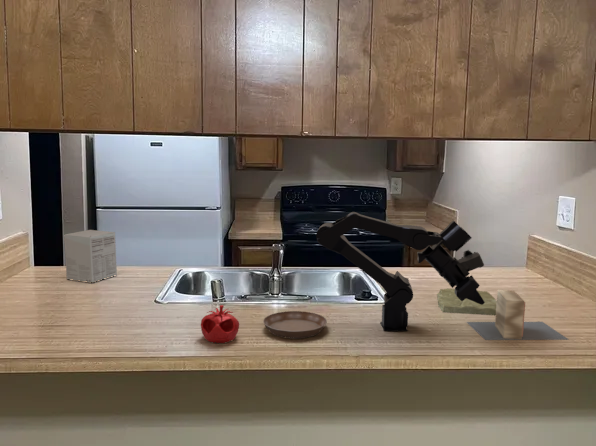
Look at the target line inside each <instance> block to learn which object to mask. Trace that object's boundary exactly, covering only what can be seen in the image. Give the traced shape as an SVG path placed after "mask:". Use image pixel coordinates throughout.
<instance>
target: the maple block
mask: <svg viewBox="0 0 596 446" xmlns="http://www.w3.org/2000/svg"><path fill="white" fill-rule="evenodd" d="M496 301H497V303H496V315H495V320H494V322H495V326H496V328H497V329H498V331H499V332H500V334H501V335H502V336H503V338H507V339H522V337H523V328H524V322H525V315H526V314H525V313H526V312H525V311H526V302H525V300H524V299H523V298H522V297H521V296H520V295H519V293H517V292H516V291H515V290H513V289H512V290H509V289H497V292H496Z"/></svg>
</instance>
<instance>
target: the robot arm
mask: <svg viewBox="0 0 596 446" xmlns="http://www.w3.org/2000/svg"><path fill="white" fill-rule="evenodd" d="M353 229H358V230H362V231H366V232H369V233H373V234H376V235H380V236H384V237H388V238H391V239H394V240H396V241H398V242H400V243H401V244H404V245H406V246H407V247H410V248H411V249H414V250H416V251H417V252H416V254H417V258H416V259H417V263H419V264H421V263H422V262H423V261H426V262H427V263H428V264H429V265H430V266H431V267H432V268H433V269H434V270H435V271H436V272H437V273H438V275H439V276H440V277H441V278H443V279H444V281H446V282H447V283H448V285H449V286H450V287H451V289H455V294H456V296H457V297H458V298H459V299H460V300H461V301H463V300H464V299H469V300H471V301H474V302H476V303H479V304H481V305H483V304H484V303H485V302H484V300H483V299H482V297H481V296H480V294H479V293H478V291H479V290H477V289H478V288H480V284H479V282H477V280H476V279H475V278H474V276H473V275H472V274H471V275H470V272H471V271H473V270H476V269H479V268H480V269H481V268H482V267H484V266H485V263H484V261H483V259H482V256H481V254H480V253H479V252H478V251H477V252H476V251H474V252H472V251H471V250H470V249H467V250H464V251H463V256H461V258H460V259H457V258H456V257H454V256H452V254H450V253H449V252H458V251H459V250H460V249H461V248H463V246H465V245H466V244H467V243H468V242H469V241H471V240H472V238H473V237H472V236H471V235H470V234H469V233H468V232H467V231H466V230H465V229H464V228H463V227H462V226H460V225H459V224H458V223H457V222H456V221H455V220H452V221H450V222H449V224H448V225H447V226H446V227H445V228H444V229H443V230H442V231H441V232H436V231H430V230H427V229H426V228H425V227H423V226H420V225H412V224H411V225H410V224H409V225H408V224H397V223H394V222H393V223H392V222H389V221H386V220H382V219H378V218H374V217H371V216H368V215H363V214H360V213H358V212H355V211H352V212H349V213H348V214H346V215H345V216H344V217H341V218H339V219H337V220H335V221H333V222H332V223H331V222H325V223H323V224H322V225H320V226H319V228H318V230H317V231H316V235H315V237H316V241H317V243H318V244H319V245H320V246H322V247H324V248H325V249H328V250H329V251H332V252H335V253H337V254H340V255H341V256H342V257H344V258H346V259H347V261H349V262H350V263H352V264H353V265H354V266H356V267H357V268H358V269H360V270H361V271H362V272H363V273H364V274H366V275H367V276H369V277H370V278H371V279H373V281H375V282H376V283H378V284H379V285H380V286H381V287H382V289H383V290H384V291H385V293H384V294H383V303H384V304H382V306H381V321H380V323H379V324H380V326H381V328H382V330H383V331H384V332H407V331H408V326H409V325H408V324H409V312H408V311H407V307H406V306H407V305H408V304H409V303H411V302H412V301H413V298H414V291H413V288H412V284H411V283H410V279H409V278H408V277H405V276H403V274H401V273H400V271H398V270H397V271H396V272H395V274H394V273H392V272H389V271H387V270H386V269H385V268H384V267H382V266H381V265H379V264H378V263H377V262H376V261H374V260H373V259H372V258H371V257H369V256H368V255H366V254H365V253H364V252H363V251H362V250H360V249H359V248H357V247H356V246H355V245H354V244H352V243H351V242H350V241H349V240H348V239H347V237H346V236H345V235H346V233H348V232H350V231H352V230H353ZM443 246H444V247H445V248H446V249H447V250H448V251H449V252H448V251H447V250H446V249H445V248H444V247H443ZM469 275H470V276H469Z"/></svg>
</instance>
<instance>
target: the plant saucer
mask: <svg viewBox="0 0 596 446" xmlns="http://www.w3.org/2000/svg"><path fill="white" fill-rule="evenodd" d="M262 321H263V324H264V326H265V328H266V329H267V330H268V331H269V332H270V333H271V334H272V335H274V336H276V335H277V337H279V336H280V338H284V337H286V338H285V339H306V338H311V337H313V336H316V335H318V334H319V333H321V331H322V330H323V329H324V328H325V326H326V324H327V318H325V316H322V315H321V314H318V313H315V312H310V311H301V310H288V311H287V310H286V311H281V312H280V311H279V312H276V313H272V314H268V315H267V316H266V317H265V316H264V318H263V320H262ZM305 337H306V338H305Z"/></svg>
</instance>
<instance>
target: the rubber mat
mask: <svg viewBox="0 0 596 446" xmlns="http://www.w3.org/2000/svg"><path fill="white" fill-rule="evenodd" d="M466 324H468V326H470V327H471V328H472V329H473V330H474V331H475V332H476V333H477V334H478V335H479V336H481V338H483V339H484V340H485V341H541V340H542V341H545V340H546V341H547V340H548V341H551V340H552V341H554V340H555V341H559V340H560V341H562V340H563V341H564V340H566V341H567V340H568V341H570V340H569V338H567V337H566V336H565V335H563V334H562V333H560V332H559V331H557V330H555V329H554V328H553V327H551V326H550V325H548V324H547V323H545V322H544V321H524V328H523V337H522V339H507V338H503V336H502V335H501V334H500V332H499V331H498V329H497V328H496V326H495V321H466Z"/></svg>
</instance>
